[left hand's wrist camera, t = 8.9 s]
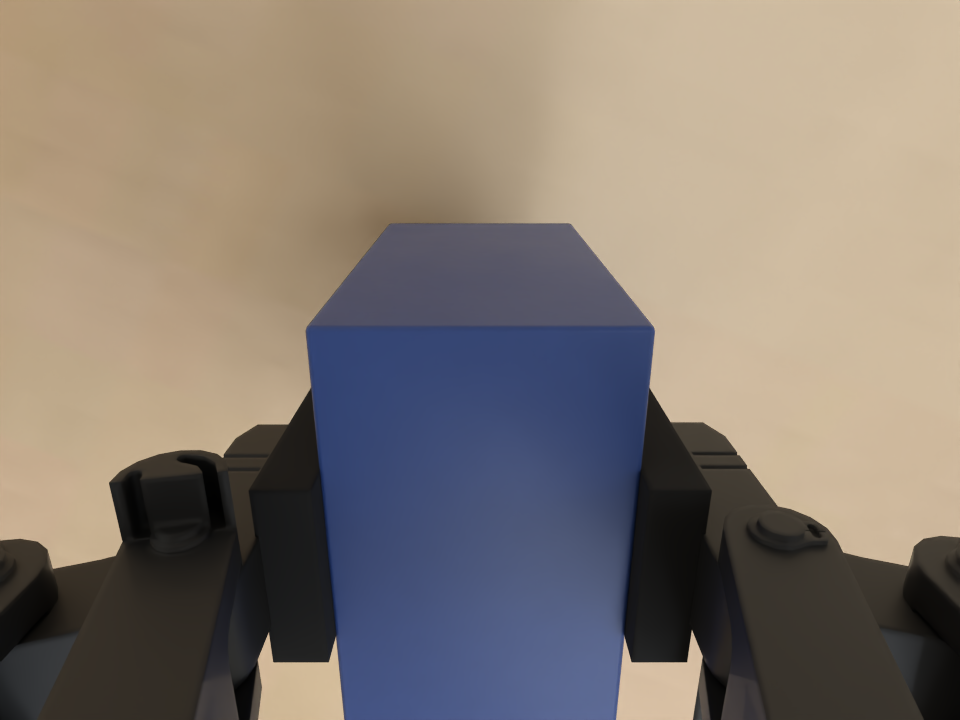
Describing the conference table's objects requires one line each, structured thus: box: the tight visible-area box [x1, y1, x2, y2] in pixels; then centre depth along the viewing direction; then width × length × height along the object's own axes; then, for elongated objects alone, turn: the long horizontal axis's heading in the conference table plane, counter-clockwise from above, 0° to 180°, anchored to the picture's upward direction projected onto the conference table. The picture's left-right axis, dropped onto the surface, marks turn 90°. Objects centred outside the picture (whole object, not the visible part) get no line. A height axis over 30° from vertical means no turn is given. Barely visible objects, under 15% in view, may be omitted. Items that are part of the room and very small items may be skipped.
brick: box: [306, 224, 655, 720], centre depth 12 cm, size 4×7×8 cm, turn 0°
